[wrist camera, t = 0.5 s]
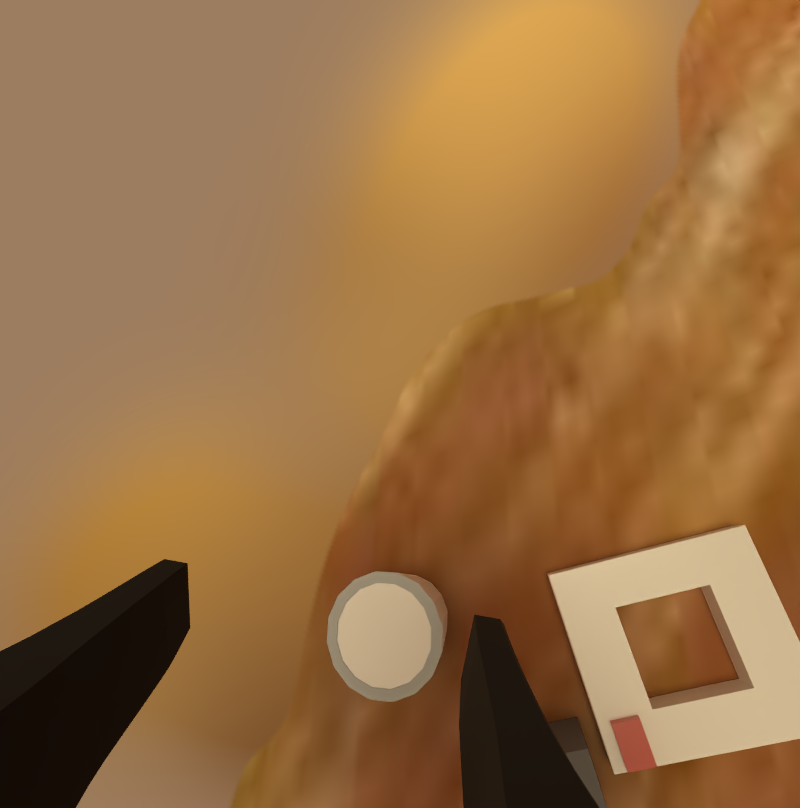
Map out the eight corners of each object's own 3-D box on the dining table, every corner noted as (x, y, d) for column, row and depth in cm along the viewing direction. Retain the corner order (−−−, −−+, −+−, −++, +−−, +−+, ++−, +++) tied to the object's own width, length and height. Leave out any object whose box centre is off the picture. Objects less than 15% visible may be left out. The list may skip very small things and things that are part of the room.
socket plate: (819, 717, 28) (848, 734, 26) (608, 759, 30) (616, 779, 27) (731, 525, 31) (749, 524, 29) (546, 573, 33) (549, 576, 31)
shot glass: (423, 546, 35) (402, 547, 29) (476, 636, 33) (467, 660, 27) (344, 597, 36) (306, 610, 29) (392, 690, 33) (362, 728, 27)
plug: (600, 791, 29) (617, 838, 25) (535, 803, 30) (539, 852, 25) (577, 716, 31) (588, 748, 26) (514, 729, 31) (514, 763, 27)
